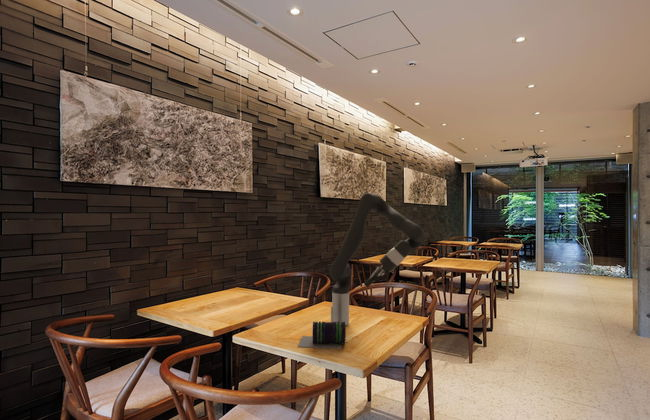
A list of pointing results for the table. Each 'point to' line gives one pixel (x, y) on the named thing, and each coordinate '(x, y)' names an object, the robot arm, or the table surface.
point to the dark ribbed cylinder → (329, 332)
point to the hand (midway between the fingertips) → (365, 285)
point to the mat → (308, 342)
